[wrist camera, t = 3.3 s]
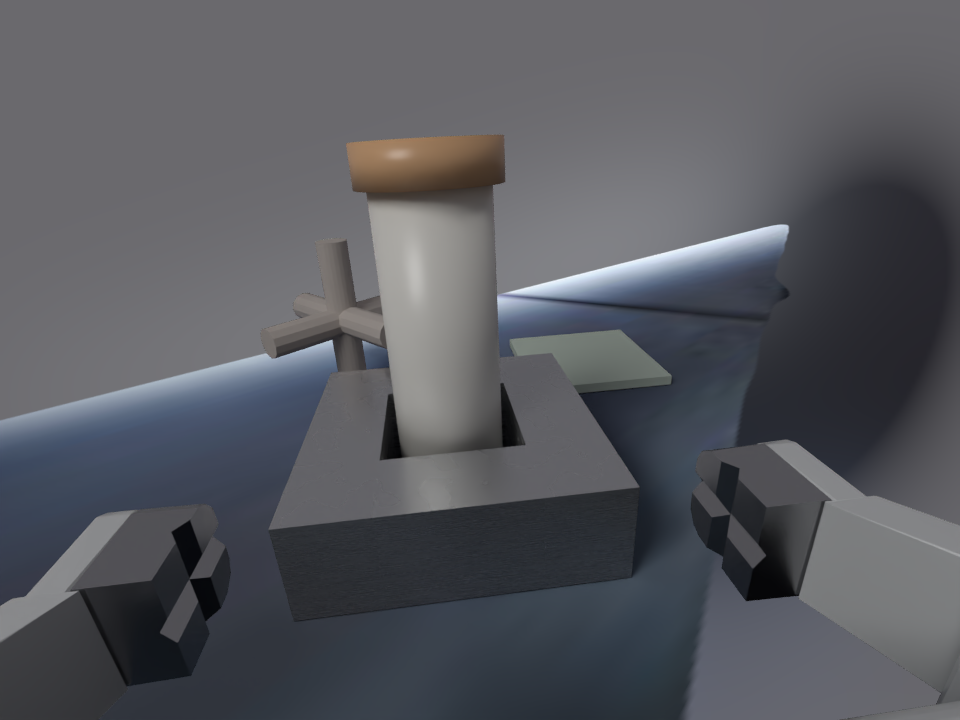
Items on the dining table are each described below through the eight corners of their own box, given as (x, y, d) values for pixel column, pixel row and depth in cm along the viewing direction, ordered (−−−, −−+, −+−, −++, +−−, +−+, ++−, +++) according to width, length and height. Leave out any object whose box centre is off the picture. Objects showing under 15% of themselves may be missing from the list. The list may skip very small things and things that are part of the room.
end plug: (394, 541, 20) (334, 142, 14) (399, 464, 25) (356, 144, 19) (524, 525, 21) (516, 132, 15) (504, 453, 26) (492, 137, 20)
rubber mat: (533, 397, 31) (533, 389, 31) (509, 346, 40) (509, 339, 39) (670, 384, 32) (671, 375, 32) (619, 336, 40) (619, 329, 40)
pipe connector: (373, 351, 40) (354, 224, 36) (459, 384, 34) (448, 233, 30) (250, 396, 33) (212, 247, 30) (330, 448, 27) (293, 266, 23)
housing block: (293, 621, 17) (268, 529, 15) (343, 437, 28) (331, 372, 26) (631, 577, 18) (639, 487, 16) (551, 415, 29) (551, 352, 27)
